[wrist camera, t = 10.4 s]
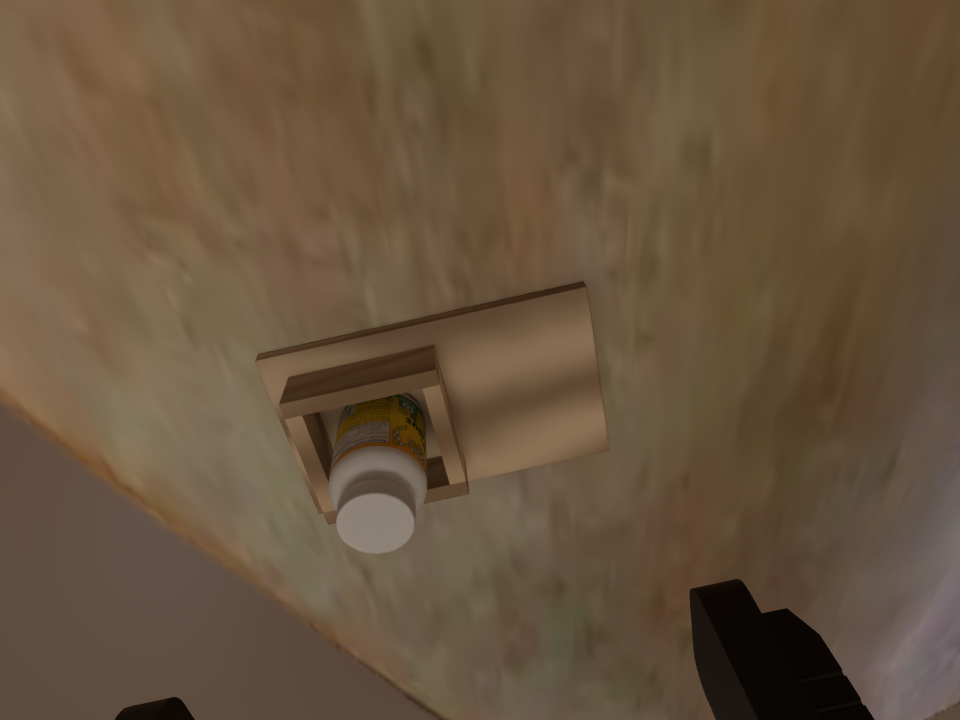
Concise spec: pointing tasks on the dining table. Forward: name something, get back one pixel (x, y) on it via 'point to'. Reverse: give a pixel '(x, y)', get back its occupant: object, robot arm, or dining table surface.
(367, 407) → the supplement bottle
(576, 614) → the dining table surface
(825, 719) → the robot arm
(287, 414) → the wooden stand
